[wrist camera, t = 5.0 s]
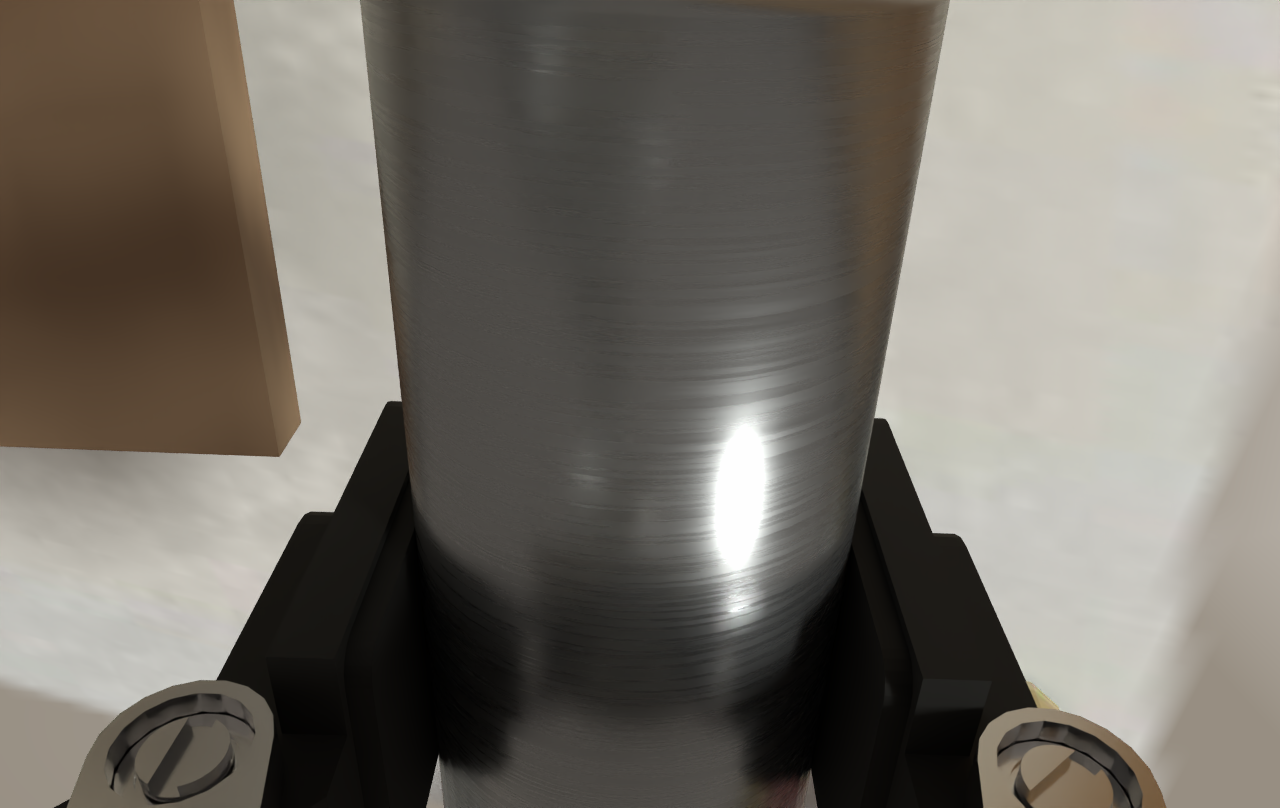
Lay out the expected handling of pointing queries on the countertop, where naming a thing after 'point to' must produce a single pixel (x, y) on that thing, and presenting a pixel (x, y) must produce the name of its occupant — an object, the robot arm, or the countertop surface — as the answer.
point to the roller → (640, 371)
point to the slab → (135, 235)
